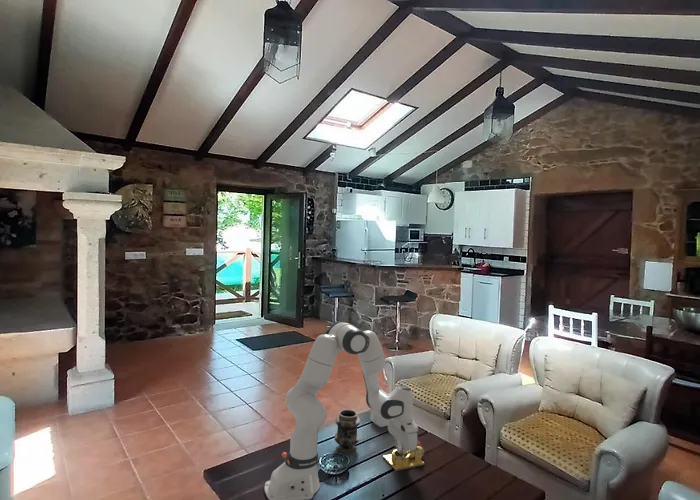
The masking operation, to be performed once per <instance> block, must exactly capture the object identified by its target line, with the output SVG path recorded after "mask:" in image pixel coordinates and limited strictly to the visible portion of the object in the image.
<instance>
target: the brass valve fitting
mask: <svg viewBox="0 0 700 500" xmlns="http://www.w3.org/2000/svg"><path fill="white" fill-rule="evenodd" d="M421 445H422V442H421V441H420V440H418V439H417V448H416V449H415V450H408V449H407V453H406V454H405V457H399V456H397V448H396V449H392V452H391V453H389V454H385V455H384V454H383V456H382V459H383V460H385V462H386V463H387V464H388V465H389V466H390V467H391V468H392V469H393V470H394V471H395V472H399V471H403V470H408V469H412V468H417V467H421V466H424V465H425V462H424V461H423V460H422V458H423V457H422V456H425V449H424V447H423V446H421Z"/></svg>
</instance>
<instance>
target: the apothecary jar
mask: <svg viewBox="0 0 700 500" xmlns="http://www.w3.org/2000/svg"><path fill="white" fill-rule="evenodd" d="M335 424H336V425H337V430H336V431H337V432H336V433H334V437H333V438H334V441H335V443H336V444H337V446H336V448H335V450H336V451H337V452H338V453H340V454H342V455H353V454H355V453H356V452H357V447H356V445H357V444H358V443H359V442H360V436H359V434H358V426H360V424H361V419H360V418H359V416H358V413H357V412H356V411H355V410H353V409H342V410H341V411H339V414H338V415H337V416H336V418H335Z"/></svg>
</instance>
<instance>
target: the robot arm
mask: <svg viewBox="0 0 700 500" xmlns="http://www.w3.org/2000/svg"><path fill="white" fill-rule="evenodd" d="M341 351H343V352H346V353H347V354H349V355H357V357H358V360H359V363H360V367H361V371H362V375H363V376H362V377H363V380H364V385H365V389H366V390H365V391H366V393H365V394H366V395H365V402H366V405H367V407H368V408H369V409H370V410H371V409H373V410H374V411H375V412H377V413H378V414H379V415H380V416H382V417H383V418H385V419H389V423H388V426H387V431H388V432H389V434H391V436H393V438H394V443H395V447H396V448H397V439H398V440H399V442H400V443H402V444H403V447H404V448H403V449H402V453H403V454H406V453H407V449H408V450H415V449H416V448H417V440H418V431H419V427H418V425H417V424H416V422H415V420H414V418H413V408H414V393H413V390H412V388H410V387H408V386H407V385H404V384H397V385H396V386H395V388H394V389H393V390H391V392H389V393H388V392H386V391H385V390H383V389H382V387H381V386H380V383H379V378H378V374H379V373H381V372H382V371H383V370H384V368H385V367H386V357H385V353H384V350H383V347H382V344H381V342H380V340H379V337H378V336H377V334H376V333H375V332H374V331H373V330H362V329H360V328H357V327H356V326H355V325H353V324H351V323H348V322H347V321H341V320H340V321H335V322H334V323H332V324H331V325H330V327H329V328H328V330H326V331H325V333H324V334H323V333H322V334H320V335H318V336H317V337H316V339H315V340H314V341H313V344H312V346H311V349H310V350H309V353H308V356H307V359H306V362H305V365H304V367H303V370H302V373H301V375H300V376H299V378H298V380H297V382H296V383H295V385H294V386H292V387H290V389H288V391H287V392H286V394H285V398H284V401H285V405H286V407H287V410H288V411H289V412H290V413H291V414H292V415H293V416H294V419H295V427H294V429H293V430H292V432H291V433H290V444H289V445H290V448H289V449H290V450H289V452H288V453H287V452H286V451H283V452H282V453H281V457H282V458H283V459H285V460H284V462H283V463H282V464H280V465H279V466H278V467H277V468H275V469H274V470H273V471H272V472H271V476H270V480H266V481H265V484H264V488H263V490H264V494H265V495H266V497H267V499H268V500H311V499H312V498H314V495H315V494H316V493H317V492H318V491H319V489H320V487H321V483H320V481H319V475H318V473H319V472H318V465H319V452H318V440H319V439H318V438H319V432H320V430H321V429H320V428H321V427H322V426H323V425H324V424H325V422H326V420H327V417H328V415H327V414H328V413H327V410H326V408H325V406H324V405H323V403H322V402H321V401H320V399H318V398H317V396H318V395H317V394H318V393H319V392H320V390H321V389H322V388H323V387H324V386H327V384H328V383H329V381H330V376H331V374H332V370H333V367H334V366H335V365H334V364H335V361H336V357H337V355H338V354H340V352H341Z"/></svg>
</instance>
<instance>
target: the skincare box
mask: <svg viewBox="0 0 700 500" xmlns="http://www.w3.org/2000/svg"><path fill="white" fill-rule="evenodd" d="M369 420H370V422H373V423H374V424H375V425H377V426H378V427H379V428H383V427H388V423H389V419H385V418H383V417H382V416H380V415H379V414H378V413H377V412H375V411H374V410H373V409H371V408H370V419H369Z"/></svg>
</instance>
